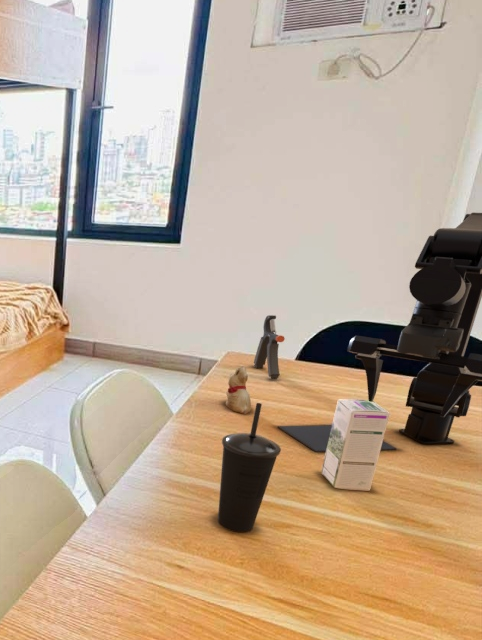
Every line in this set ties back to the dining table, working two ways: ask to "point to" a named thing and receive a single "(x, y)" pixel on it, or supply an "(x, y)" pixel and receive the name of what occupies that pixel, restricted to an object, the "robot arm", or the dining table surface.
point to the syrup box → (354, 444)
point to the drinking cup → (245, 476)
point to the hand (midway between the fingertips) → (405, 408)
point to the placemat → (317, 436)
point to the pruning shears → (269, 348)
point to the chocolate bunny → (238, 392)
